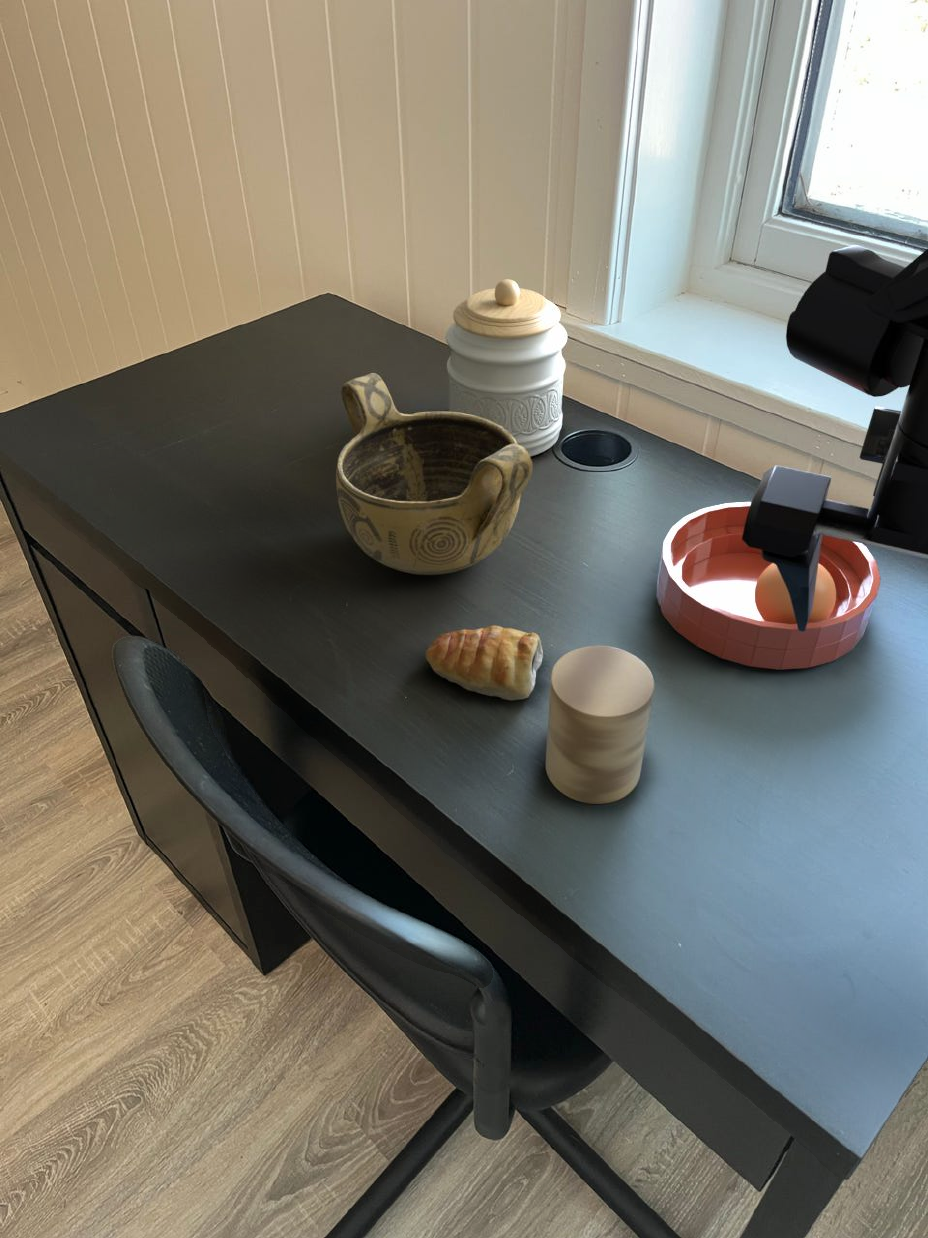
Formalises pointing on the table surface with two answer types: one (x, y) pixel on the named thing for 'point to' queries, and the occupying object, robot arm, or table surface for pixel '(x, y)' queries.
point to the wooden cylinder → (597, 723)
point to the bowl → (725, 585)
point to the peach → (777, 601)
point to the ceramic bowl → (426, 482)
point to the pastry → (488, 660)
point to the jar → (509, 363)
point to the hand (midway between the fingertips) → (876, 647)
